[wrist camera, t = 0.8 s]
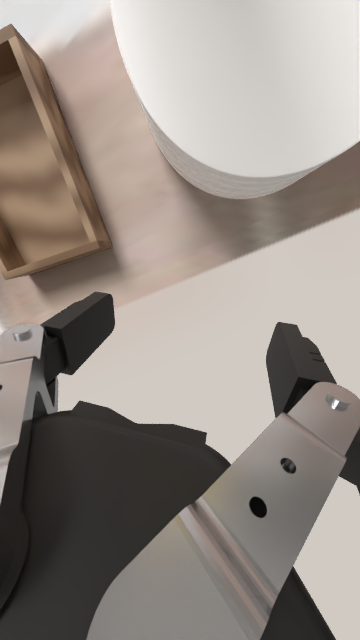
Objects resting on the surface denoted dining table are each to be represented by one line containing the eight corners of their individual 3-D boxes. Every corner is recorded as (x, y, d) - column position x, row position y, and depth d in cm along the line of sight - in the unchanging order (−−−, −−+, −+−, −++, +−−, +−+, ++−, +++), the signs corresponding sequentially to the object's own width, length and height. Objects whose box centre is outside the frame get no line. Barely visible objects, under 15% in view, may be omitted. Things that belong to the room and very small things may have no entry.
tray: (-56, 109, 31) (-101, 86, 26) (41, 59, 28) (11, 23, 24) (28, 275, 38) (5, 279, 34) (112, 247, 36) (99, 247, 31)
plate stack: (262, 238, 34) (293, 237, 23) (103, 117, 30) (52, 49, 19) (428, 20, 25) (603, -147, 14) (232, -187, 22) (267, -618, 11)
